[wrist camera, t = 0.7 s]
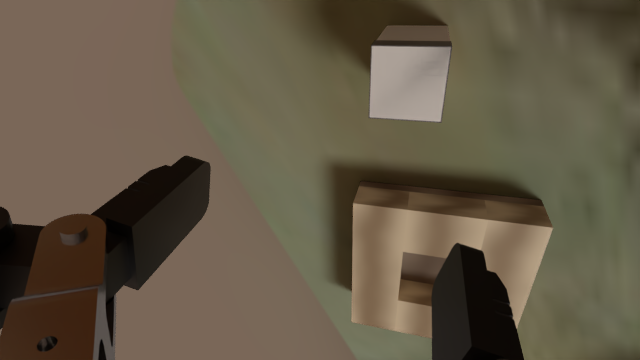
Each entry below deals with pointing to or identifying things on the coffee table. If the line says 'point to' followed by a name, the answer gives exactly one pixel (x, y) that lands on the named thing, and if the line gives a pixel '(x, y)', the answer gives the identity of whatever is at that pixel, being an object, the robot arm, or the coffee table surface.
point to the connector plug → (409, 73)
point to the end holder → (436, 248)
